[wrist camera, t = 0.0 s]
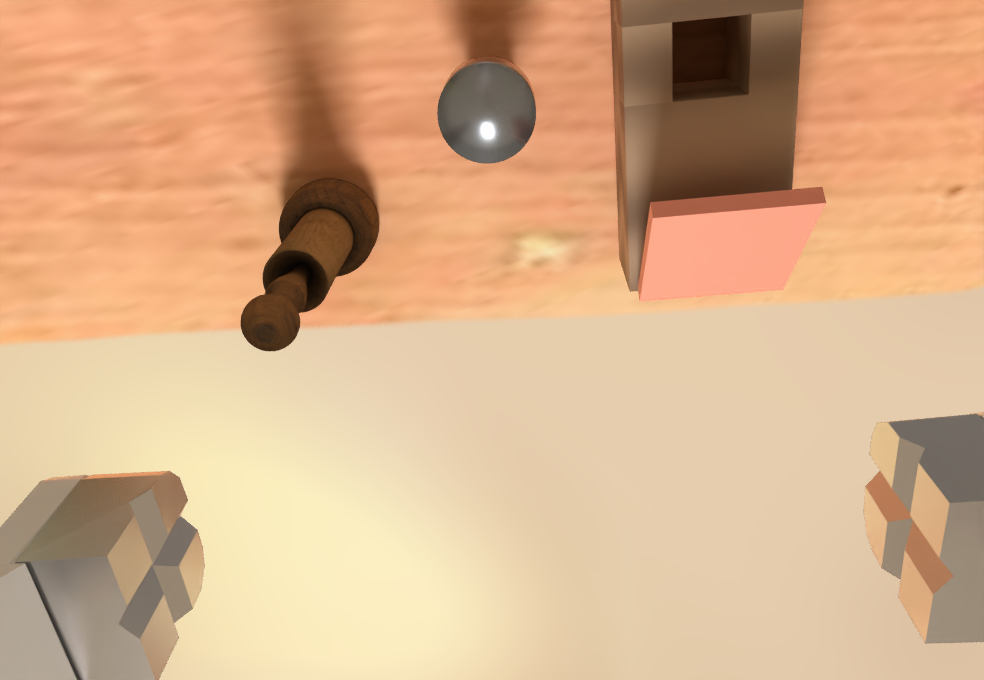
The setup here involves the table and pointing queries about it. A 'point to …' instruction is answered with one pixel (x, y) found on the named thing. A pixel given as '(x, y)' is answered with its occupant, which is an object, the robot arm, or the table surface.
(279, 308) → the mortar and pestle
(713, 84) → the block
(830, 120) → the table surface
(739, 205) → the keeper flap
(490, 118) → the grey domed cylinder
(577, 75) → the table surface
